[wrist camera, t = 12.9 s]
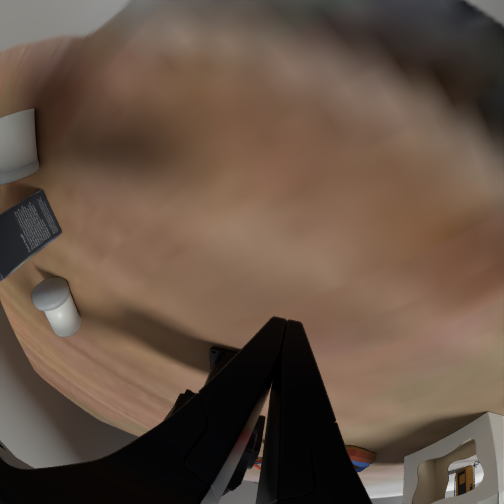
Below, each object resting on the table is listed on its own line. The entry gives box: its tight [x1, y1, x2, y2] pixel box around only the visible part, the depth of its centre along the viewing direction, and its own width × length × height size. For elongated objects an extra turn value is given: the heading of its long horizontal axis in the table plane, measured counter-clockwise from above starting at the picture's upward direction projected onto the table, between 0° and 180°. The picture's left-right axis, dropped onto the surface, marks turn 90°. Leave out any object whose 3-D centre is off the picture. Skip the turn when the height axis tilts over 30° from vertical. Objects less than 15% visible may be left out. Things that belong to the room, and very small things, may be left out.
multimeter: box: [454, 461, 480, 497], centre depth 36 cm, size 15×10×20 cm
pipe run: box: [0, 108, 81, 337], centre depth 25 cm, size 30×6×6 cm, turn 175°
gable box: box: [402, 412, 504, 504], centre depth 22 cm, size 22×13×28 cm, turn 156°
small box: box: [0, 189, 62, 281], centre depth 23 cm, size 11×6×10 cm, turn 110°
